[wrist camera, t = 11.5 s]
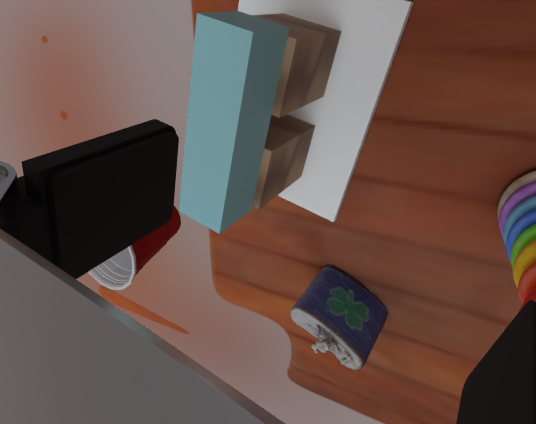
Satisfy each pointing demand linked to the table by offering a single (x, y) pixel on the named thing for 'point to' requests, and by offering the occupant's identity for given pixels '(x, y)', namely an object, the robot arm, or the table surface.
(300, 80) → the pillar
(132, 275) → the plastic cup
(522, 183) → the stacking toy
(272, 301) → the table surface
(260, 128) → the beam
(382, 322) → the flask
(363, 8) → the board
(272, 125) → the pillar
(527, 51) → the table surface
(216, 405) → the robot arm
